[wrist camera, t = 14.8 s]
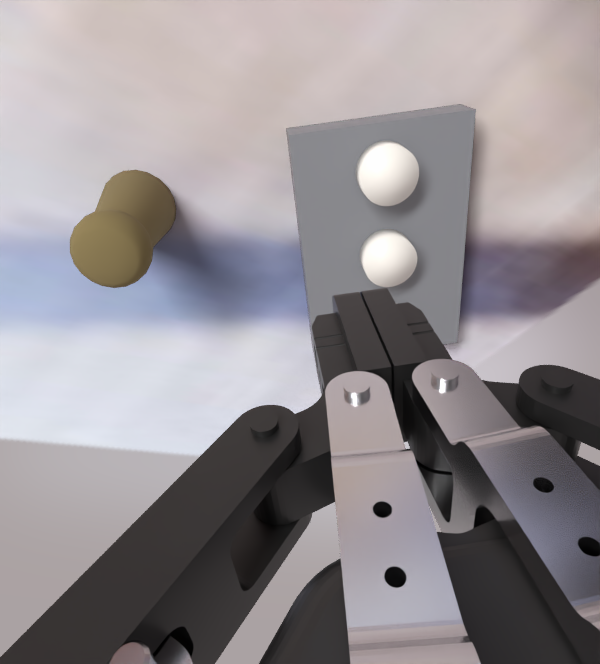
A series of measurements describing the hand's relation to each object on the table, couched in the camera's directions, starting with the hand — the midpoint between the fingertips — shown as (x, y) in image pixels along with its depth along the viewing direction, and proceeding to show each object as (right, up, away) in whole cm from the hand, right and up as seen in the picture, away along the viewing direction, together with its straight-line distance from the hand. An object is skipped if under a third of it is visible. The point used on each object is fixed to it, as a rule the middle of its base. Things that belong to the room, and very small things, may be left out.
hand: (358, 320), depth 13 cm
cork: (-15, +10, +27) cm, 32 cm away
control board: (+5, +8, +30) cm, 31 cm away
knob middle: (+5, +8, +30) cm, 31 cm away
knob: (+5, +14, +26) cm, 30 cm away
